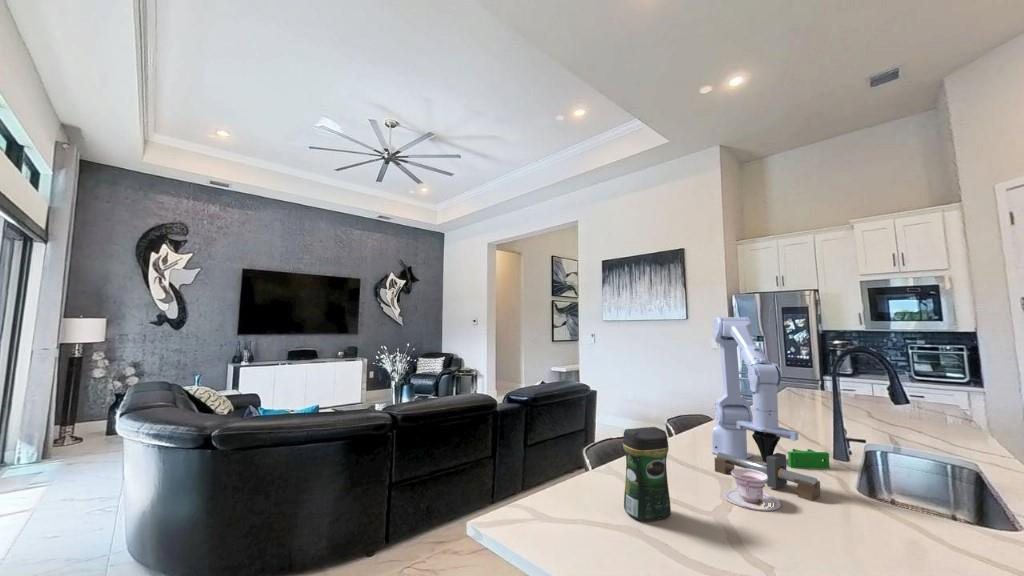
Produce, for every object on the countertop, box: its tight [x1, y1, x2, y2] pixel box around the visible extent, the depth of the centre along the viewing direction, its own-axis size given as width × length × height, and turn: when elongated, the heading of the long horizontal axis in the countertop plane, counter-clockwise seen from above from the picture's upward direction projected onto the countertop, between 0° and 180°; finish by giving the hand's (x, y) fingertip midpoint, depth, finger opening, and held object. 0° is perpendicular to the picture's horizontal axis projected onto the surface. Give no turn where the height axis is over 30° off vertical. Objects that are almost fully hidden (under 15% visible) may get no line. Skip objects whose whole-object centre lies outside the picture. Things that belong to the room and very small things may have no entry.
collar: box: [766, 452, 788, 490], centre depth 109 cm, size 2×6×7 cm, turn 125°
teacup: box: [722, 467, 781, 512], centre depth 101 cm, size 12×12×6 cm
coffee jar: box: [622, 426, 672, 522], centre depth 94 cm, size 10×8×19 cm
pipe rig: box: [714, 452, 822, 502], centre depth 112 cm, size 24×5×5 cm, turn 35°
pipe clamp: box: [787, 448, 830, 469], centre depth 125 cm, size 11×4×5 cm, turn 89°
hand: (767, 462), depth 111 cm, fingers closed
